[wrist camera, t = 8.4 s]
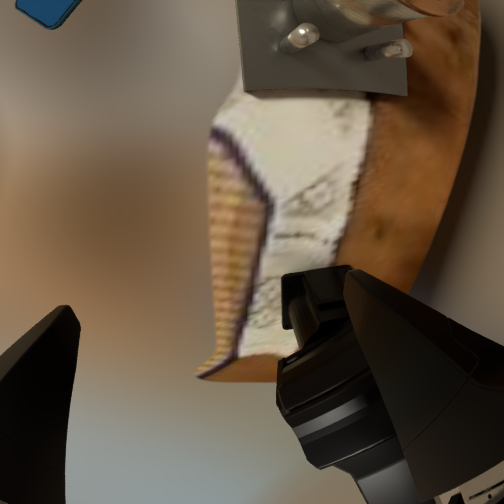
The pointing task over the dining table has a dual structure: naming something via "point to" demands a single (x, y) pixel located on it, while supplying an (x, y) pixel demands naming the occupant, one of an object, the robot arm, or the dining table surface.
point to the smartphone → (47, 11)
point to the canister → (367, 14)
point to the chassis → (316, 53)
